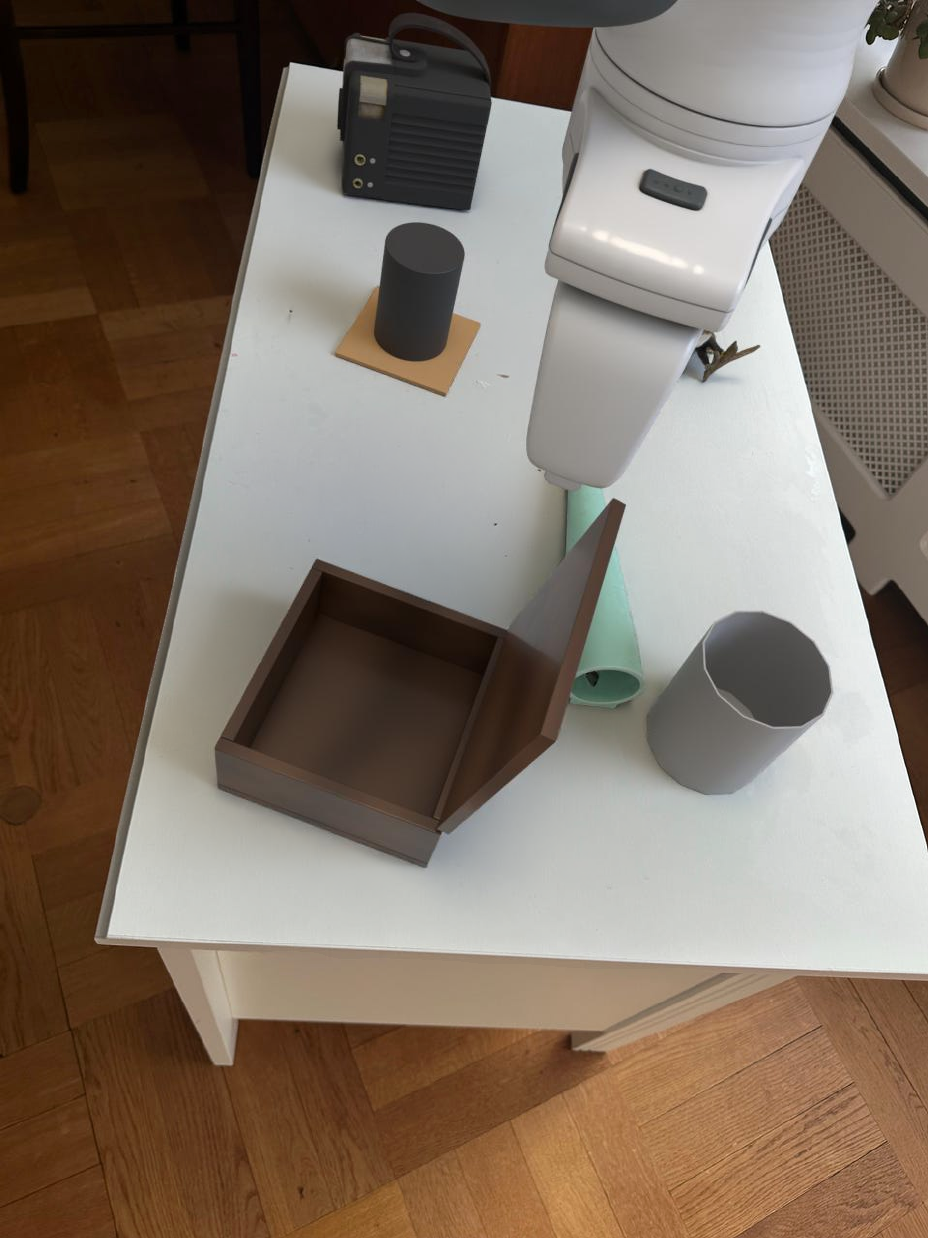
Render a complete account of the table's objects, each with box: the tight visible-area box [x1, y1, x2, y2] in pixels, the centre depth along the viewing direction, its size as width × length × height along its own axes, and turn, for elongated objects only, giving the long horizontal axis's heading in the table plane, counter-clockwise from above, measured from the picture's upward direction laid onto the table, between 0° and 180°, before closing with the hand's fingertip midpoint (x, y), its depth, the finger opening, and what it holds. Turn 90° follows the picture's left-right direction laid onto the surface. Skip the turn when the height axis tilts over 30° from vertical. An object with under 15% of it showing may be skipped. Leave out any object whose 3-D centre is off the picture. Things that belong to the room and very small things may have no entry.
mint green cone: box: [565, 485, 646, 709], centre depth 70 cm, size 5×6×27 cm
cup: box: [646, 610, 834, 796], centre depth 61 cm, size 8×8×10 cm
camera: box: [336, 12, 493, 211], centre depth 89 cm, size 11×14×15 cm
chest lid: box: [437, 497, 627, 835], centre depth 50 cm, size 14×15×1 cm
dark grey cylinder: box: [374, 221, 466, 361], centre depth 78 cm, size 6×6×9 cm
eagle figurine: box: [694, 330, 761, 383], centre depth 86 cm, size 8×7×9 cm
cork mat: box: [334, 285, 482, 397], centre depth 82 cm, size 10×10×1 cm
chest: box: [213, 558, 508, 869], centre depth 59 cm, size 14×15×6 cm
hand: (586, 410), depth 46 cm, fingers open, 8 cm apart
